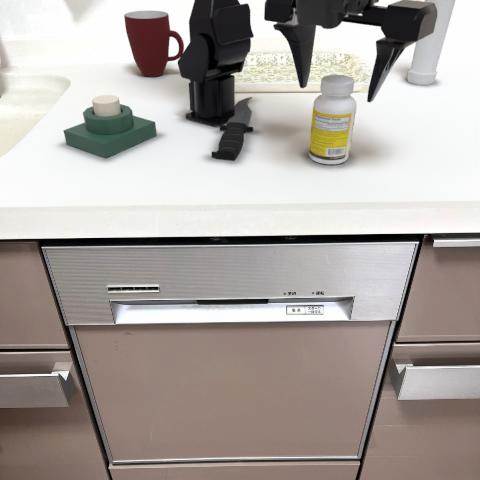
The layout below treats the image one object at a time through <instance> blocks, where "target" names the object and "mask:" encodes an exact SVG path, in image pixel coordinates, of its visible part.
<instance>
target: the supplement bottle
mask: <svg viewBox="0 0 480 480" xmlns="http://www.w3.org/2000/svg"><path fill="white" fill-rule="evenodd" d="M320 80H321V81H320V88H319V89H320V92H321V94H320V95H317V96H316V98H315V99H314V101H313V105H312V113H311V127H310V137H309V146H308V156H309V158H310V159H311V160H312V161H314V162H316V163H318V164H323V165H339V164H342V163H344V162H346V161H347V160H348V159H349V156H350V152H351V144H352V139H353V133H354V126H355V118H356V113H357V101H356V99H355V98H354V97H353V96H351V95H352V94H353V93H354V88H355V79H354V77H351V76H349V75H344V74H329V75H324V76H323V77H322V78H321V79H320Z"/></svg>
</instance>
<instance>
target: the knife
mask: <svg viewBox="0 0 480 480" xmlns="http://www.w3.org/2000/svg"><path fill="white" fill-rule="evenodd" d="M252 99H253V97H252V96H251V97H249V96H248V97H246V98H243V99H241V100H238V101H237V102H235V110H236V111H237V112H236V115H235V116H233V117H231V118H230V119H229V120H228V121H227V122H226V123H225V124H221V125H219V131H223V133H222V134H221V137H220V140H219V142H218V149H217V151H211V157H212V158H215V160H222V161H229V162H235V161H236V159H237V158H238V156H239V155H240V153H241V151H242V148H243V145H244V135H245V134H246V133H252V132H254V126H249V124H250V120H251V117H252V114H253V110H251V109H252V108H250V106H249V101H250V100H252Z"/></svg>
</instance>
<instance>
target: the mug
mask: <svg viewBox="0 0 480 480" xmlns="http://www.w3.org/2000/svg"><path fill="white" fill-rule="evenodd" d="M123 17H124V26H125V27H124V28H125V32H126V36H127V39H128V40H127V41H128V43H129V46H130V49H131V55H132V58H133V60H134V63H135V65H136V66H137V68H138V69H139V71H140V73H141V75H142V76H144V77H150V78H153V77H160V76H162V75H163V74H164V72H165V70H166V67H167V64H168V62H175V61H178V60H179V59H180V57H181V55H182V54H183V52H184V51H185V42H184V40H183V38H182V36H181V34H180V33H179V32H177V31H176V30H172V29H171V27H170V26H171V25H170V16H169V13H168V12H166V11H162V10H134V11H130V12H126V13H124V15H123ZM171 38H173V39H175V41H176V42H177V45H178V52H177V53H176V55H172V56H170V54H169V53H170V39H171Z"/></svg>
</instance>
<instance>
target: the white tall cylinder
mask: <svg viewBox="0 0 480 480" xmlns="http://www.w3.org/2000/svg"><path fill="white" fill-rule="evenodd" d="M423 2H432V3H435V6H436V8H437V15H438V16H437V20H436V24H435V28H434V32H433V33H432V34H430V35H428V36H426V37H424V38H423V39H421V40H419V41H417V42H415V45H414V50H413V55H412V60H411V63H410V68H409V69H408V71H407V78H406V79H407V82H408V83H410V84H412V85H418V86H429V85H432V84H433V83H434V82H435V80H436V77H437V74H438V72H437V67H438V64H439V62H440V58H441V53H442V50H443V47H444V43H445V39H446V36H447V33H448V28H449V25H450V22H451V18H452V14H453V11H454V7H455V4H456V0H424V1H423Z"/></svg>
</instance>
